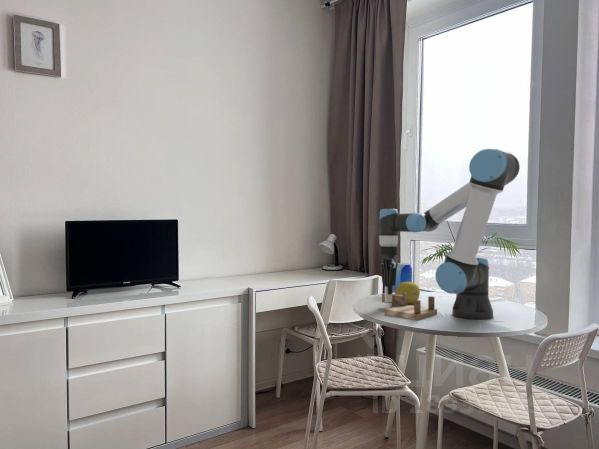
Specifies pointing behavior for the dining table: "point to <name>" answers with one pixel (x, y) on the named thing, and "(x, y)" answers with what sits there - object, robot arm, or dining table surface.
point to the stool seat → (413, 310)
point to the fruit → (408, 291)
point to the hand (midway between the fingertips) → (388, 301)
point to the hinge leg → (396, 299)
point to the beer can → (403, 274)
